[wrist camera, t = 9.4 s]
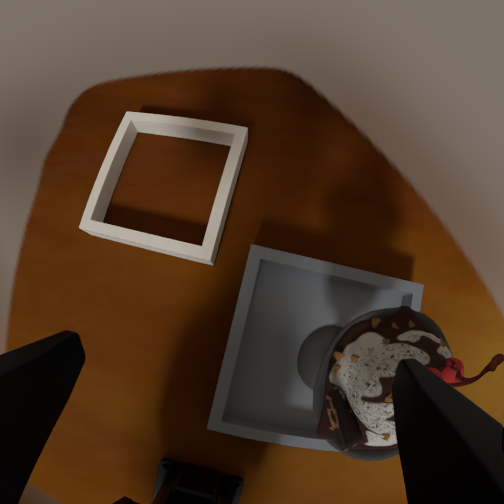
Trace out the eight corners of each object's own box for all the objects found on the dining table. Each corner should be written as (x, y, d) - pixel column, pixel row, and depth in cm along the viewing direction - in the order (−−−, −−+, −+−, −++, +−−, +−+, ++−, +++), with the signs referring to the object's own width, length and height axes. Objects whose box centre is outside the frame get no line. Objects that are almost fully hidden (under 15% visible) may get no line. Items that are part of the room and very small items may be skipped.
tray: (371, 442, 20) (383, 453, 18) (210, 418, 21) (206, 428, 18) (408, 288, 23) (423, 284, 20) (251, 252, 23) (251, 243, 21)
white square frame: (213, 265, 23) (210, 260, 21) (90, 234, 24) (78, 227, 22) (248, 140, 25) (247, 127, 23) (133, 123, 26) (126, 111, 24)
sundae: (385, 324, 21) (546, 315, 7) (360, 411, 20) (488, 504, 5) (300, 302, 22) (394, 266, 7) (273, 394, 20) (313, 516, 6)
